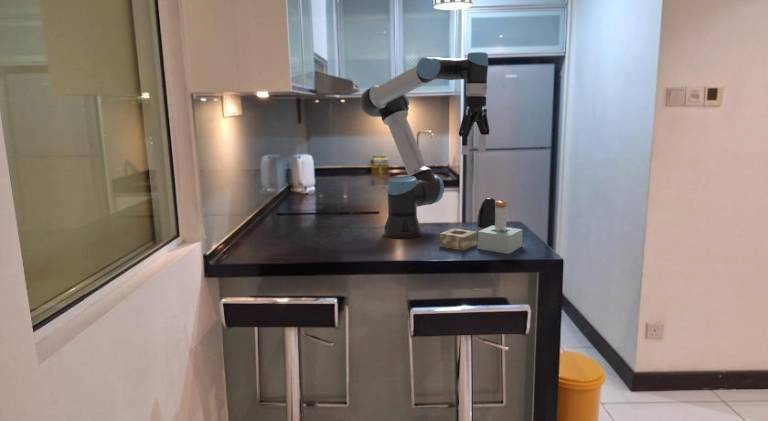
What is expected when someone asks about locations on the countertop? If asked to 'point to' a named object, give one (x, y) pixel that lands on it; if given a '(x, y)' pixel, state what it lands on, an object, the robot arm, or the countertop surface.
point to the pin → (500, 216)
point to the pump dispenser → (486, 214)
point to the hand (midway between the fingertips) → (473, 153)
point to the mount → (458, 239)
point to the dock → (500, 240)
